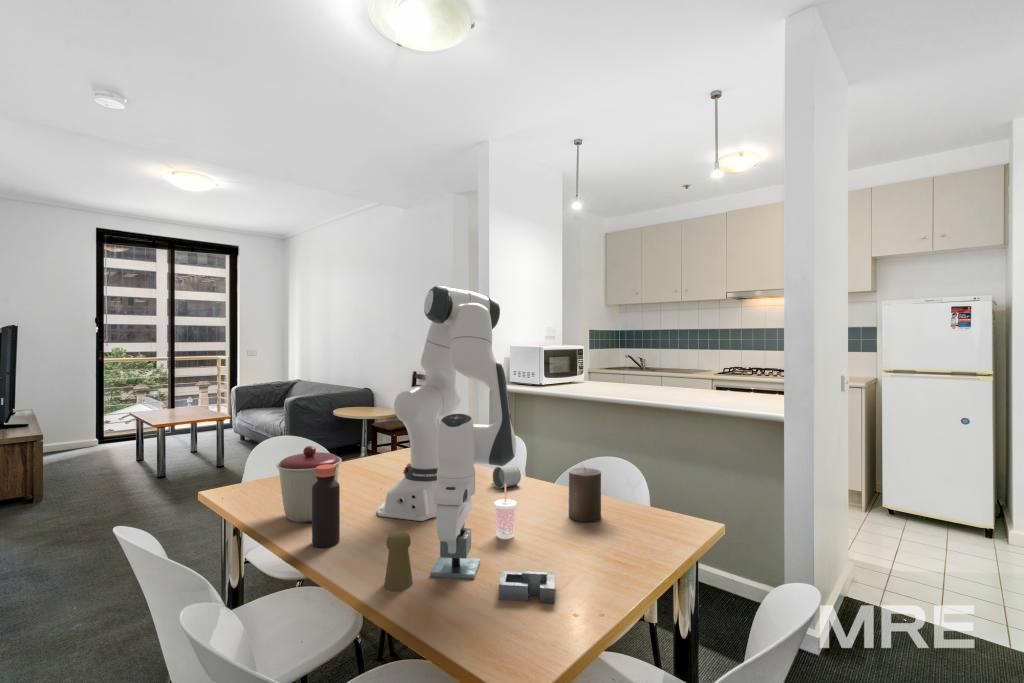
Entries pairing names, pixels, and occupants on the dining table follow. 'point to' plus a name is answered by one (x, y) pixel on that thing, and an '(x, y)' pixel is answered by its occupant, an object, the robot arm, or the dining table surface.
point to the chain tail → (527, 585)
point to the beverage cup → (505, 517)
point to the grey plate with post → (455, 567)
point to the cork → (398, 562)
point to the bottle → (325, 507)
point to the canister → (302, 481)
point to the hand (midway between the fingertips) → (456, 545)
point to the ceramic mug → (506, 476)
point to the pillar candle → (585, 494)
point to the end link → (458, 545)
